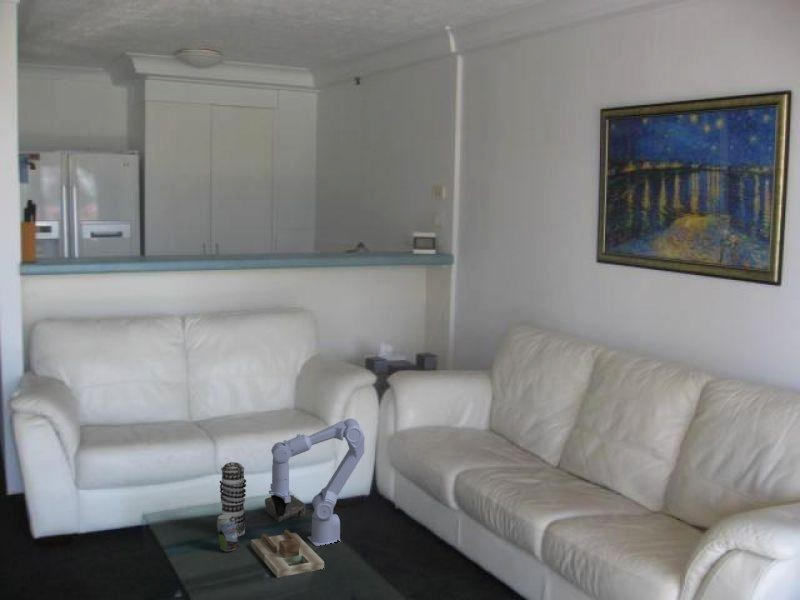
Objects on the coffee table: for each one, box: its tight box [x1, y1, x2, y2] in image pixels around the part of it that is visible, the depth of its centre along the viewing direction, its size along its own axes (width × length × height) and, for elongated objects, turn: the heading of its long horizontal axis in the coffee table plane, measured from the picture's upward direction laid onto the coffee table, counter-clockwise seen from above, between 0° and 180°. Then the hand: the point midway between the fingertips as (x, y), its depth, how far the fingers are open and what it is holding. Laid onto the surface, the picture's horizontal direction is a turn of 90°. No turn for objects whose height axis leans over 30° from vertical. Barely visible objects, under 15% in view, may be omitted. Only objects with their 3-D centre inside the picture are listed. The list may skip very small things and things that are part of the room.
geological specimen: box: [264, 494, 306, 523], centre depth 360 cm, size 11×6×15 cm
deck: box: [250, 529, 325, 579], centre depth 322 cm, size 16×26×4 cm, turn 27°
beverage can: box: [216, 514, 239, 552], centre depth 326 cm, size 6×7×12 cm
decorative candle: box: [219, 461, 247, 538], centre depth 339 cm, size 9×9×25 cm
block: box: [279, 539, 299, 558], centre depth 319 cm, size 5×5×4 cm
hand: (280, 515), depth 332 cm, fingers closed
